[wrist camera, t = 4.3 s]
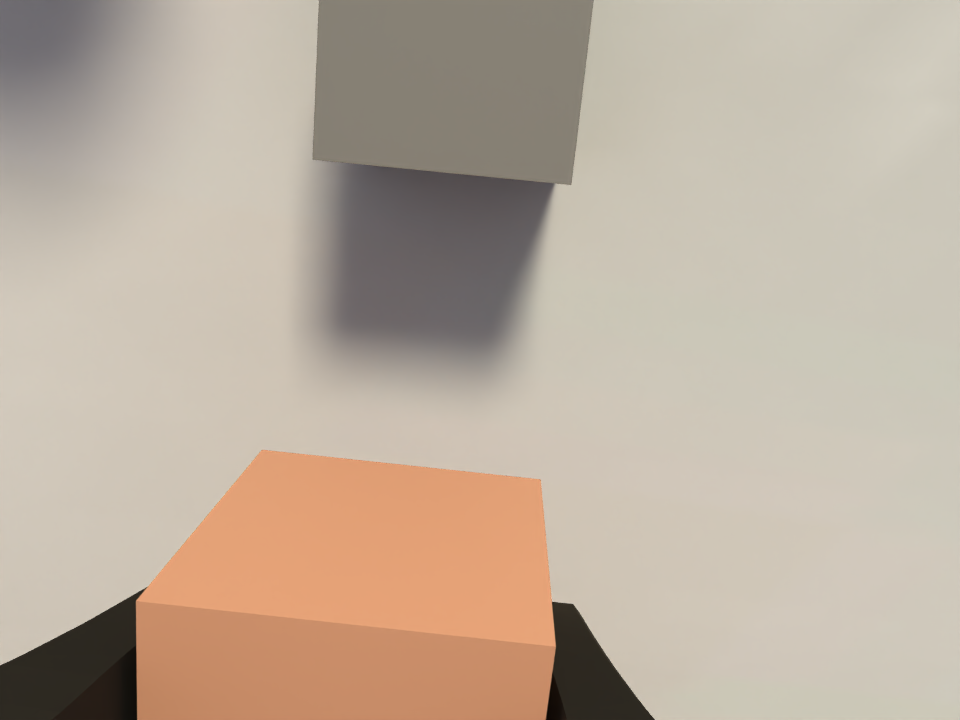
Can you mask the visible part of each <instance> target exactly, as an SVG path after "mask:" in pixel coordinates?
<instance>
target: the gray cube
mask: <svg viewBox="0 0 960 720" xmlns="http://www.w3.org/2000/svg"><path fill="white" fill-rule="evenodd" d="M593 1H594V0H319V13H318V38H317V63H316V88H315V113H314V138H313V160H322V161H332V162H342V163H353V164H363V165H373V166H383V167H393V168H404V169H414V170H424V171H434V172H444V173H455V174H465V175H475V176H485V177H495V178H506V179H516V180H526V181H536V182H547V183H557V184H567V185H571V183H572V175H573V166H574V158H575V150H576V142H577V133H578V125H579V117H580V108H581V100H582V92H583V83H584V75H585V67H586V59H587V50H588V42H589V34H590V25H591V17H592V9H593Z"/></svg>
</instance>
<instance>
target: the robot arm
mask: <svg viewBox="0 0 960 720" xmlns="http://www.w3.org/2000/svg"><path fill="white" fill-rule="evenodd" d="M146 588H147V587H146ZM146 588H145V589H143V590H141V591H139V592H138V593H136V594H134V595H133V596H131V597H129V598H127V599H126V600H124V601H122V602H120V603H119V604H117V605H115V606H113V607H112V608H110V609H108V610H106V611H105V612H103V613H101V614H99V615H98V616H96V617H94V618H92V619H91V620H89V621H87V622H85V623H83V624H82V625H80V626H78V627H76V628H74V629H72V630H70V631H68V632H66V633H64V634H62V635H60V636H58V637H56V638H54V639H53V640H51V641H49V642H47V643H45V644H43V645H41V646H39V647H37V648H35V649H33V650H31V651H29V652H27V653H25V654H24V655H22V656H19V657H17V658H15V659H13V660H11V661H9V662H7V663H5V664H2V665H0V720H137V651H136V600H137V599H138V598H139V597H140V596H141V594H142V593H143V592H144V591H145V590H146ZM552 610H553V621H554V632H555V643H556V649H555V656H554V664H553V671H552V678H551V685H550V692H549V699H548V706H547V714H546V720H655V719H654V718H653V717H652V716H651V715H650V714H649V712H648V711H647V710H646V709H645V707H644V706H643V705H642V703H641V702H640V701H639V700H638V698H637V697H636V696H635V694H634V693H633V692H632V690H631V689H630V688H629V686H628V685H627V684H626V682H625V681H624V680H623V678H622V677H621V675H620V674H619V673H618V671H617V670H616V669H615V667H614V666H613V664H612V663H611V661H610V660H609V658H608V657H607V656H606V654H605V652H604V651H603V649H602V648H601V646H600V645H599V643H598V642H597V640H596V639H595V637H594V636H593V634H592V632H591V631H590V629H589V628H588V626H587V624H586V623H585V621H584V619H583V618H582V616H581V615H580V613H579V611H578V610H577V609H576V608H575V606H574V605H573V604H567V603H558V602H552Z"/></svg>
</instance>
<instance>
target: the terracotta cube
mask: <svg viewBox="0 0 960 720" xmlns="http://www.w3.org/2000/svg"><path fill="white" fill-rule="evenodd" d="M555 649H556V643H555V632H554V621H553V610H552V599H551V588H550V577H549V566H548V555H547V544H546V533H545V522H544V511H543V501H542V490H541V480H540V479H531V478H521V477H512V476H503V475H493V474H484V473H474V472H465V471H456V470H446V469H437V468H427V467H418V466H409V465H399V464H390V463H381V462H371V461H362V460H352V459H343V458H334V457H324V456H315V455H305V454H296V453H287V452H277V451H268V450H261V452H260V453H259V454H258V455H257V456H256V458H255V459H254V460H253V461H252V462H251V464H250V465H249V466H248V467H247V468H246V470H245V471H244V472H243V473H242V474H241V476H240V477H239V478H238V479H237V480H236V482H235V483H234V484H233V485H232V486H231V488H230V489H229V490H228V491H227V492H226V494H225V495H224V496H223V497H222V498H221V500H220V501H219V502H218V503H217V504H216V506H215V507H214V508H213V509H212V510H211V512H210V513H209V514H208V515H207V516H206V518H205V519H204V520H203V521H202V522H201V524H200V525H199V526H198V527H197V528H196V530H195V531H194V532H193V533H192V534H191V536H190V537H189V538H188V539H187V540H186V542H185V543H184V544H183V545H182V546H181V548H180V549H179V550H178V551H177V552H176V554H175V555H174V556H173V557H172V558H171V560H170V561H169V562H168V563H167V564H166V566H165V567H164V568H163V569H162V570H161V572H160V573H159V574H158V575H157V576H156V578H155V579H154V580H153V581H152V582H151V584H150V585H149V586H148V587H147V588H146V590H145V591H144V592H143V593H142V594H141V596H140V597H139V598H138V599H137V600H136V651H137V720H546V714H547V706H548V699H549V692H550V685H551V678H552V671H553V664H554V656H555Z"/></svg>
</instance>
